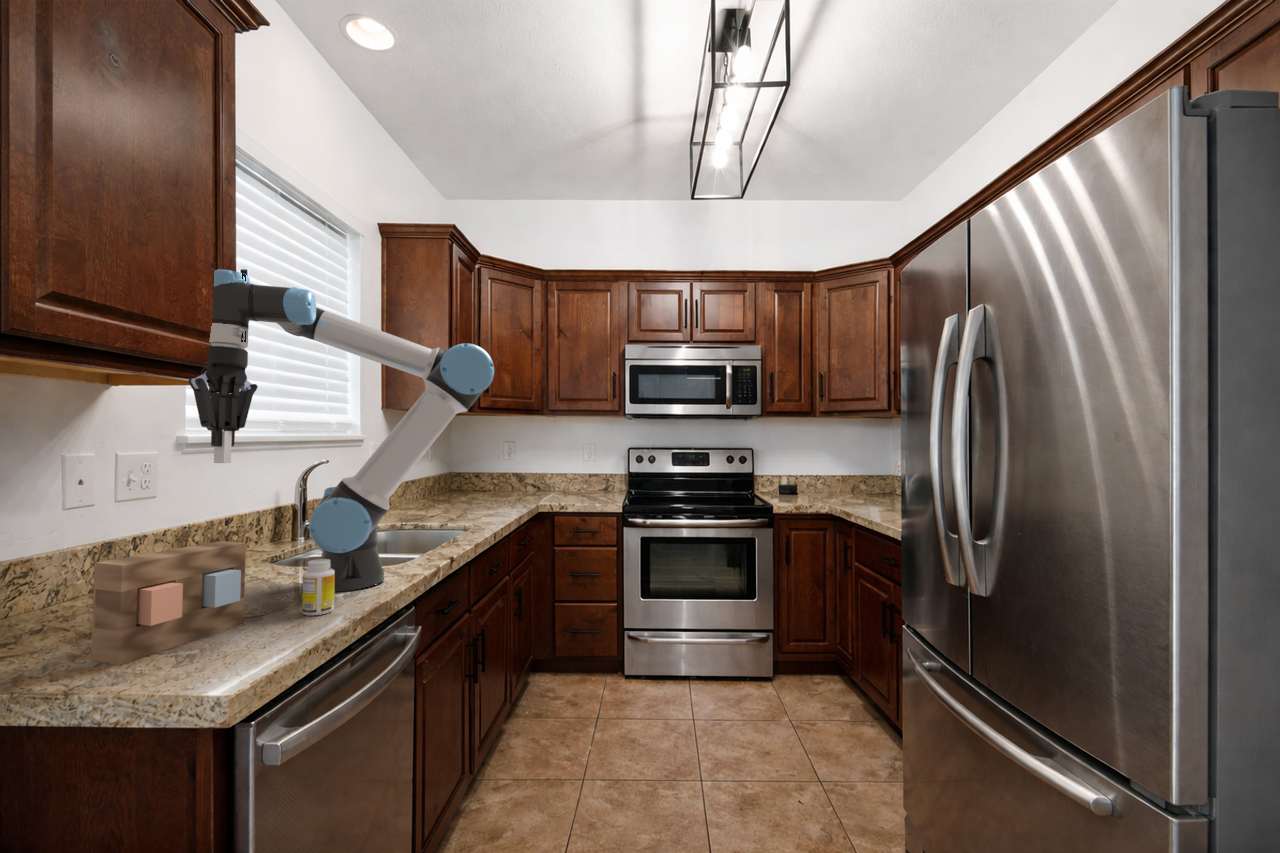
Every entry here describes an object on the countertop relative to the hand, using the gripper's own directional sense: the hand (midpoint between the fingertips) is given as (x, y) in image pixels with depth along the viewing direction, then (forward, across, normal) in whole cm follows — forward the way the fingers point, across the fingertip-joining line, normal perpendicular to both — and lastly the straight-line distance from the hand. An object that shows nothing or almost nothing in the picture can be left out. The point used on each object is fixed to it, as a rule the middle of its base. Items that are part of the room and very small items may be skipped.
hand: (222, 462), depth 115 cm
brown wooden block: (+29, -16, -11) cm, 35 cm away
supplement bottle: (+30, +4, -21) cm, 37 cm away
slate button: (+24, -11, -13) cm, 29 cm away
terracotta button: (+24, -21, -13) cm, 34 cm away
